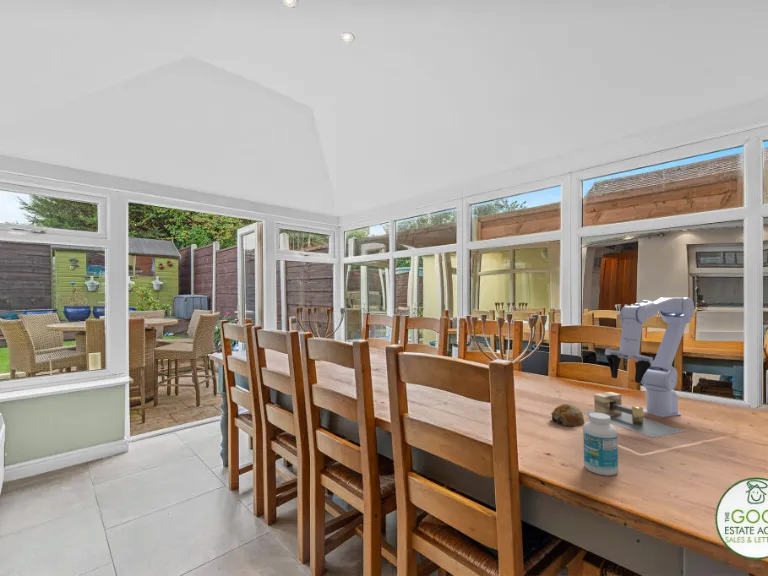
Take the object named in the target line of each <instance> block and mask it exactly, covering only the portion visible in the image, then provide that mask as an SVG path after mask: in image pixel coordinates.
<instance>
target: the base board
mask: <svg viewBox="0 0 768 576" xmlns="http://www.w3.org/2000/svg"><path fill="white" fill-rule="evenodd" d="M581 412H582V411H581ZM590 413H595V409H594V410H589V411H583V412H582V414H584V415H587V416H589V414H590ZM610 419H611V422H610V423H609V424H611V425H614V426H618V427H621V428H624V429H627V430H629V431H632V432H635V433H637V434H641V435H643V436H645V437H649V438H651V439H654V438H658V437H663V436H664V437H665V436H669V435H674V434H678V433H679V434H680V433H683V432H684V433H685V432H686V431H685V430H683V429H679V428H676V427H673V426H670V425H666V424H663V423H660V422H657V421H653V420H650V419H647V418H645V417H643V424H635V423H633V422H632V415H631V414H628V413H625V412H622V415H615V416H610Z"/></svg>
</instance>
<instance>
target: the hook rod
mask: <svg viewBox="0 0 768 576" xmlns="http://www.w3.org/2000/svg"><path fill="white" fill-rule="evenodd" d="M610 408H612V409H615V410H618V411H621V412H625V413H628V414H631V415H632V422H633V423H635V424H643V418H644V412H643V411H644V409H643V407H642V406H639V405H638V406H637V405H632V406H631V407H629V406H626V405H619V404H616V403H612V402H610Z"/></svg>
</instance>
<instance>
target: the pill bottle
mask: <svg viewBox="0 0 768 576" xmlns="http://www.w3.org/2000/svg"><path fill="white" fill-rule="evenodd" d="M588 419H589V421H587V422H585V423H584V424H583V425H582V426H583V427H582V431H583V432H582V433H583V435H582V436H583V438H582V439H583V466H584V467H585V469H587V471H589V472H591V473H593V474H597V475H599V476H615V475H617V474H618V472H619V448H618V443H619V442H618V440H619V439H618V430H617V428H616V427H615V425H614V424H612V423H610V422H611V419H610V416H609V415H607V414H603V413H590V414H589V415H588Z"/></svg>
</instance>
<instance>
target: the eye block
mask: <svg viewBox="0 0 768 576" xmlns="http://www.w3.org/2000/svg"><path fill="white" fill-rule="evenodd" d="M593 396H594V397H593V398H594V403H593V404H594V410H595V413H603V414H607V415H609V416H615V415H622V412H621V411H618V410H615V409H612V408H610V402H612V403H616V404H619V405H622V394H620V393H617V392H613V391H608V392H601V393H600V392H598V393H594V395H593ZM622 406H623V405H622Z"/></svg>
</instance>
